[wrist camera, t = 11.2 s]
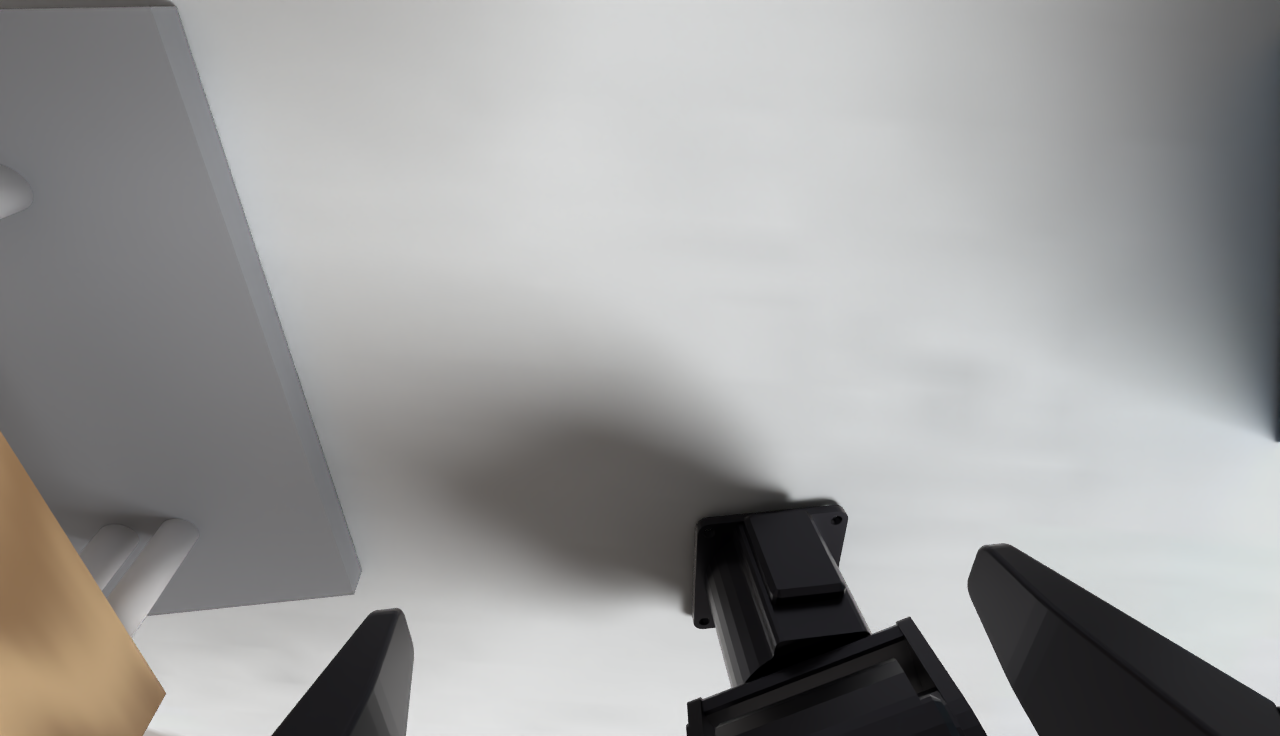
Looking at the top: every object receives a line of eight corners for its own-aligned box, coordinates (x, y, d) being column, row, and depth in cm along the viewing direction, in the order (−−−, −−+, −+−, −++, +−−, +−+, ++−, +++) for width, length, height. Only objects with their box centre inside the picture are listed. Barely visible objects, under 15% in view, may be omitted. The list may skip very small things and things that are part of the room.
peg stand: (361, 570, 26) (313, 718, 21) (42, 602, 25) (-98, 768, 19) (176, 6, 16) (-12, 8, 11) (-375, 14, 15) (-897, 23, 9)
